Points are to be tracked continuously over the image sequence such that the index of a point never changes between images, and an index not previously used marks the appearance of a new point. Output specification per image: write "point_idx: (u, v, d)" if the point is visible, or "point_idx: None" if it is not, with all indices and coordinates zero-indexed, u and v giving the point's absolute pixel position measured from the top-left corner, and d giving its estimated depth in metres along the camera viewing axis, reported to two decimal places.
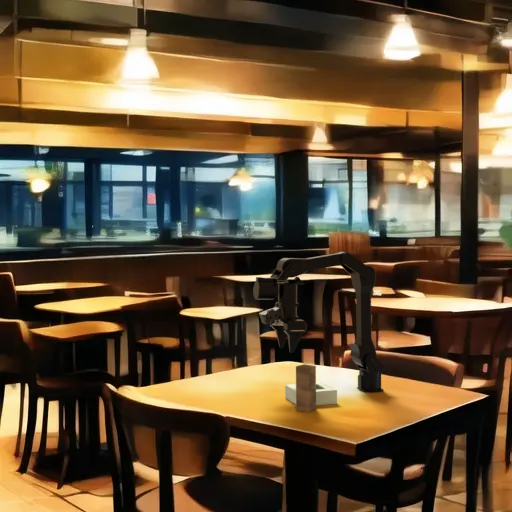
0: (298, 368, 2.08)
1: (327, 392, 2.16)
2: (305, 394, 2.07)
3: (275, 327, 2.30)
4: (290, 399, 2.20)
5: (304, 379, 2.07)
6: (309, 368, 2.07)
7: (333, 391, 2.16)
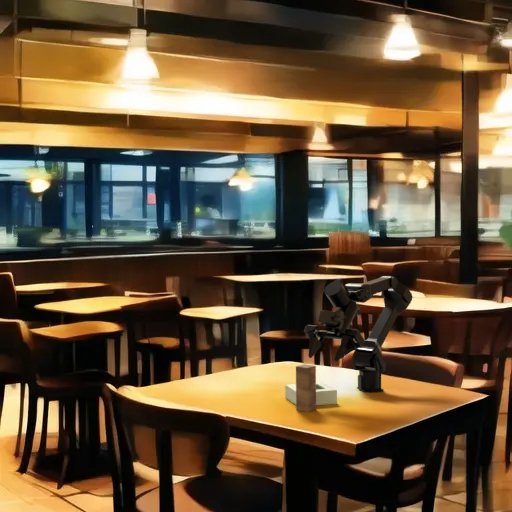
0: (298, 368, 2.08)
1: (327, 392, 2.16)
2: (305, 394, 2.07)
3: (314, 335, 2.21)
4: (290, 399, 2.20)
5: (304, 379, 2.07)
6: (309, 368, 2.07)
7: (333, 391, 2.16)
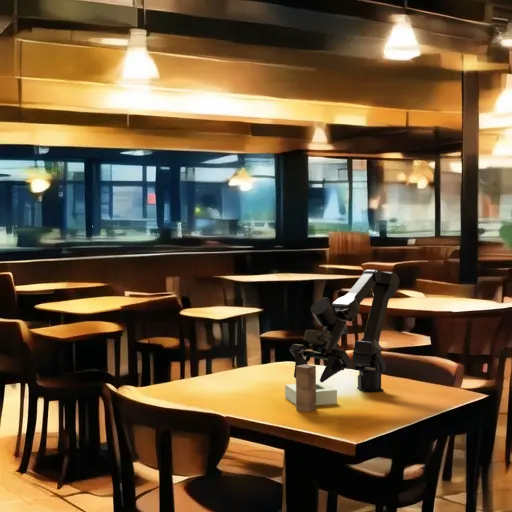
0: (298, 368, 2.08)
1: (327, 392, 2.16)
2: (305, 394, 2.07)
3: (300, 355, 2.16)
4: (290, 399, 2.20)
5: (304, 379, 2.07)
6: (309, 368, 2.07)
7: (333, 391, 2.16)
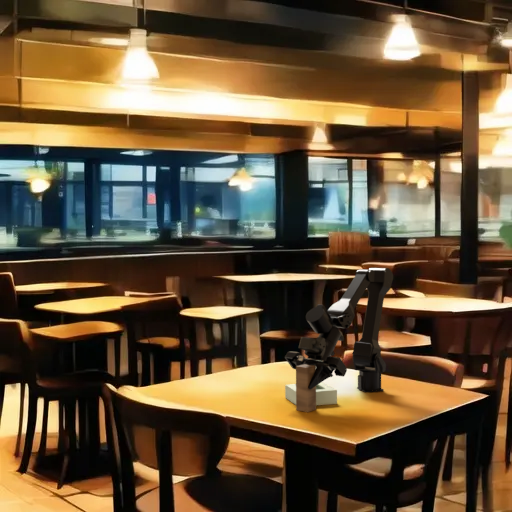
0: (298, 368, 2.08)
1: (327, 392, 2.16)
2: (305, 394, 2.07)
3: (302, 364, 2.12)
4: (290, 399, 2.20)
5: (304, 379, 2.07)
6: (309, 368, 2.07)
7: (333, 391, 2.16)
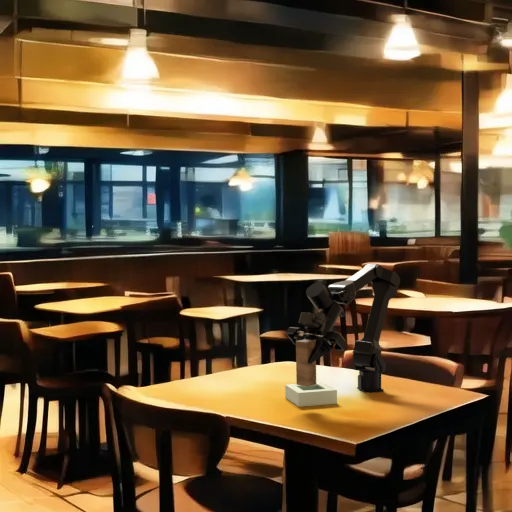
0: (298, 343, 2.10)
1: (327, 392, 2.16)
2: (305, 369, 2.09)
3: (302, 339, 2.14)
4: (290, 399, 2.20)
5: (304, 353, 2.09)
6: (309, 343, 2.09)
7: (333, 391, 2.16)
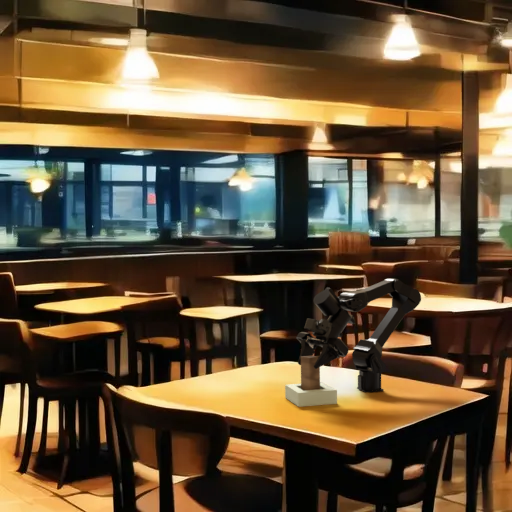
0: (302, 358, 2.21)
1: (327, 392, 2.16)
2: (308, 383, 2.18)
3: (305, 343, 2.25)
4: (290, 399, 2.20)
5: (307, 368, 2.19)
6: (312, 358, 2.19)
7: (333, 391, 2.16)
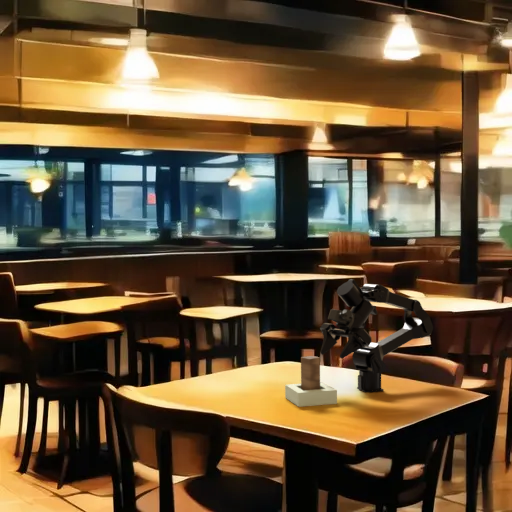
0: (302, 359, 2.20)
1: (327, 392, 2.16)
2: (308, 384, 2.18)
3: (327, 333, 2.31)
4: (290, 399, 2.20)
5: (307, 369, 2.18)
6: (312, 359, 2.18)
7: (333, 391, 2.16)
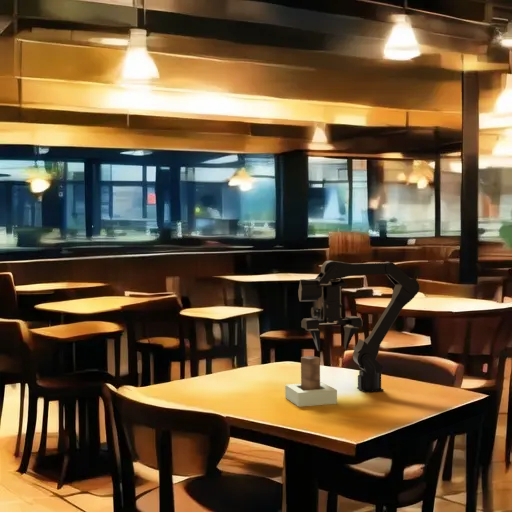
0: (302, 359, 2.20)
1: (327, 392, 2.16)
2: (308, 384, 2.18)
3: (344, 328, 2.36)
4: (290, 399, 2.20)
5: (307, 369, 2.18)
6: (312, 359, 2.18)
7: (333, 391, 2.16)
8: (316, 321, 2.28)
